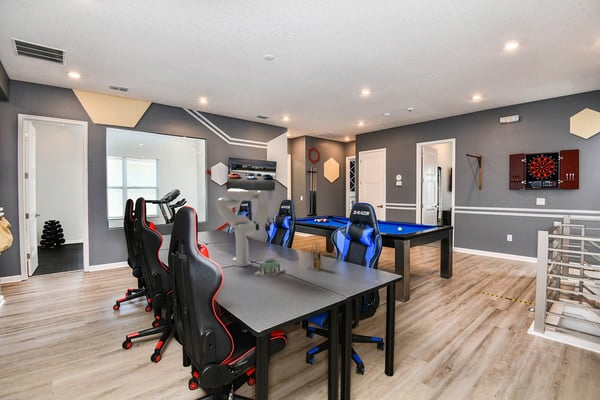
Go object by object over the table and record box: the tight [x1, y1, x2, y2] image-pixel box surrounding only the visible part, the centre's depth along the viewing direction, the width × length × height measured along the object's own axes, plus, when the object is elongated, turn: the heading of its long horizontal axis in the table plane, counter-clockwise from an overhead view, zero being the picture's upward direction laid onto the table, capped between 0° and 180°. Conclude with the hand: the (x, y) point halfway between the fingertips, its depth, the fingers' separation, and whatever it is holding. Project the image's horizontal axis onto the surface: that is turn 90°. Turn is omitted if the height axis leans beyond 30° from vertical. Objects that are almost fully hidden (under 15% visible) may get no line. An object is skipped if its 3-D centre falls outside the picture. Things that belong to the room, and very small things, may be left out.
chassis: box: [254, 263, 286, 278], centre depth 204 cm, size 18×14×6 cm
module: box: [261, 258, 278, 271], centre depth 204 cm, size 12×6×6 cm, turn 159°
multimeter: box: [309, 241, 324, 272], centre depth 211 cm, size 15×10×20 cm
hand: (263, 230), depth 214 cm, fingers open, 9 cm apart
